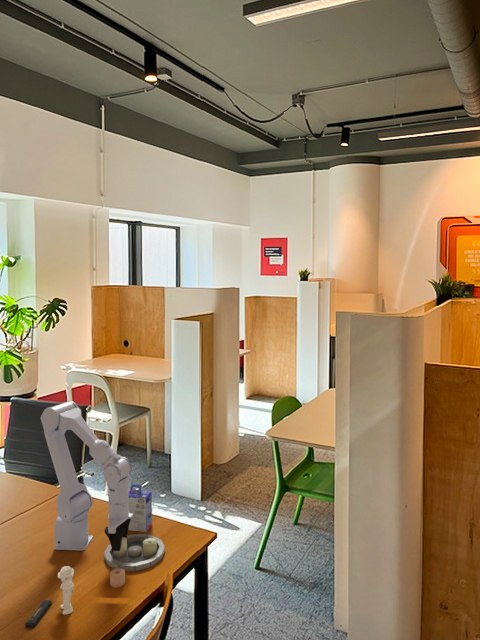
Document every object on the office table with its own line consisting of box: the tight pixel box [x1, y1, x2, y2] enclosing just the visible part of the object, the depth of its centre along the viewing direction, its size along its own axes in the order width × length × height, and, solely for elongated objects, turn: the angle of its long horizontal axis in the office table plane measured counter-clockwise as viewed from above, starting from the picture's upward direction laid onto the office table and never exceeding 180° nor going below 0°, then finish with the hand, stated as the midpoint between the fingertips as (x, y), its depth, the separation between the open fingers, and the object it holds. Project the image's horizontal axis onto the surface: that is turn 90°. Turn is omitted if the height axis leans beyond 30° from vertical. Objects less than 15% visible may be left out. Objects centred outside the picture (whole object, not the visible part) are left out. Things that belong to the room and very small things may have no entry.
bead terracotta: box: [109, 568, 126, 589], centre depth 142 cm, size 4×4×4 cm
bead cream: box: [113, 537, 127, 557], centre depth 156 cm, size 4×4×4 cm
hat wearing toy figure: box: [57, 565, 75, 616], centre depth 133 cm, size 9×4×12 cm, turn 27°
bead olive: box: [143, 538, 157, 558], centre depth 156 cm, size 4×4×4 cm
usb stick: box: [24, 599, 53, 629], centre depth 131 cm, size 10×3×2 cm, turn 173°
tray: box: [103, 533, 166, 572], centre depth 156 cm, size 17×17×2 cm
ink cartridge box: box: [128, 484, 153, 533], centre depth 172 cm, size 10×6×14 cm, turn 79°
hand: (119, 544), depth 156 cm, fingers open, 6 cm apart
